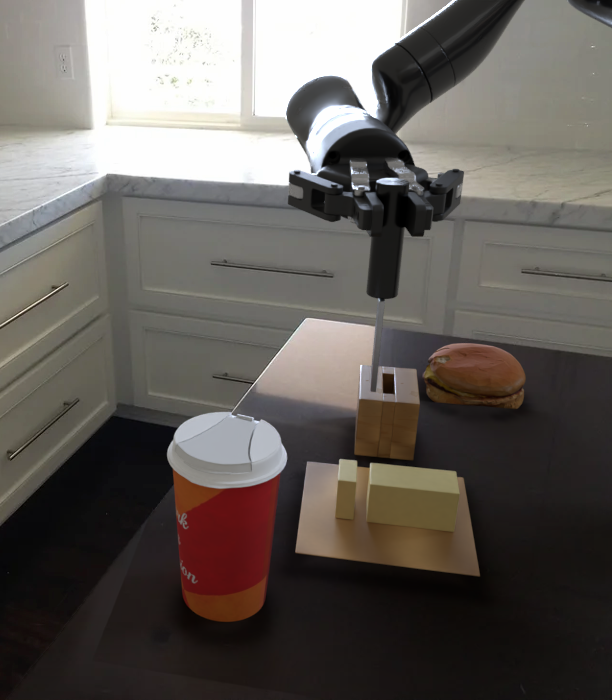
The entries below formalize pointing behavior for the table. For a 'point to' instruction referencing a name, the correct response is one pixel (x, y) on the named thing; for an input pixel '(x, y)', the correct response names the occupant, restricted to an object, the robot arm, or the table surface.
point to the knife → (386, 256)
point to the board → (378, 530)
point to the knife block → (387, 413)
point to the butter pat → (346, 489)
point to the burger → (475, 376)
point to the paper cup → (225, 511)
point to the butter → (412, 497)
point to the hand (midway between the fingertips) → (399, 222)
